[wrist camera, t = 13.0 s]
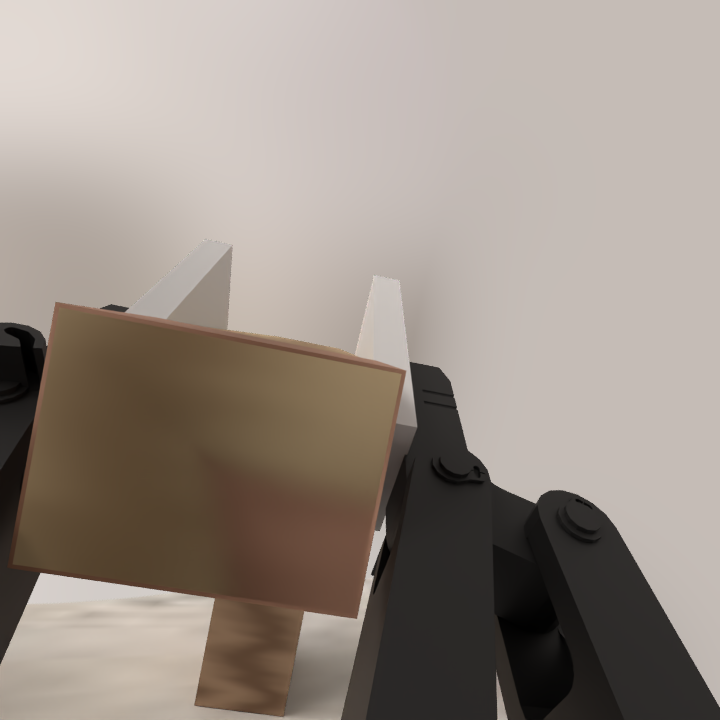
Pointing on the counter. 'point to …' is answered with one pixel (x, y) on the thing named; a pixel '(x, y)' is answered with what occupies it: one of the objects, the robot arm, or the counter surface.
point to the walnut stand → (249, 657)
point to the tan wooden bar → (205, 461)
